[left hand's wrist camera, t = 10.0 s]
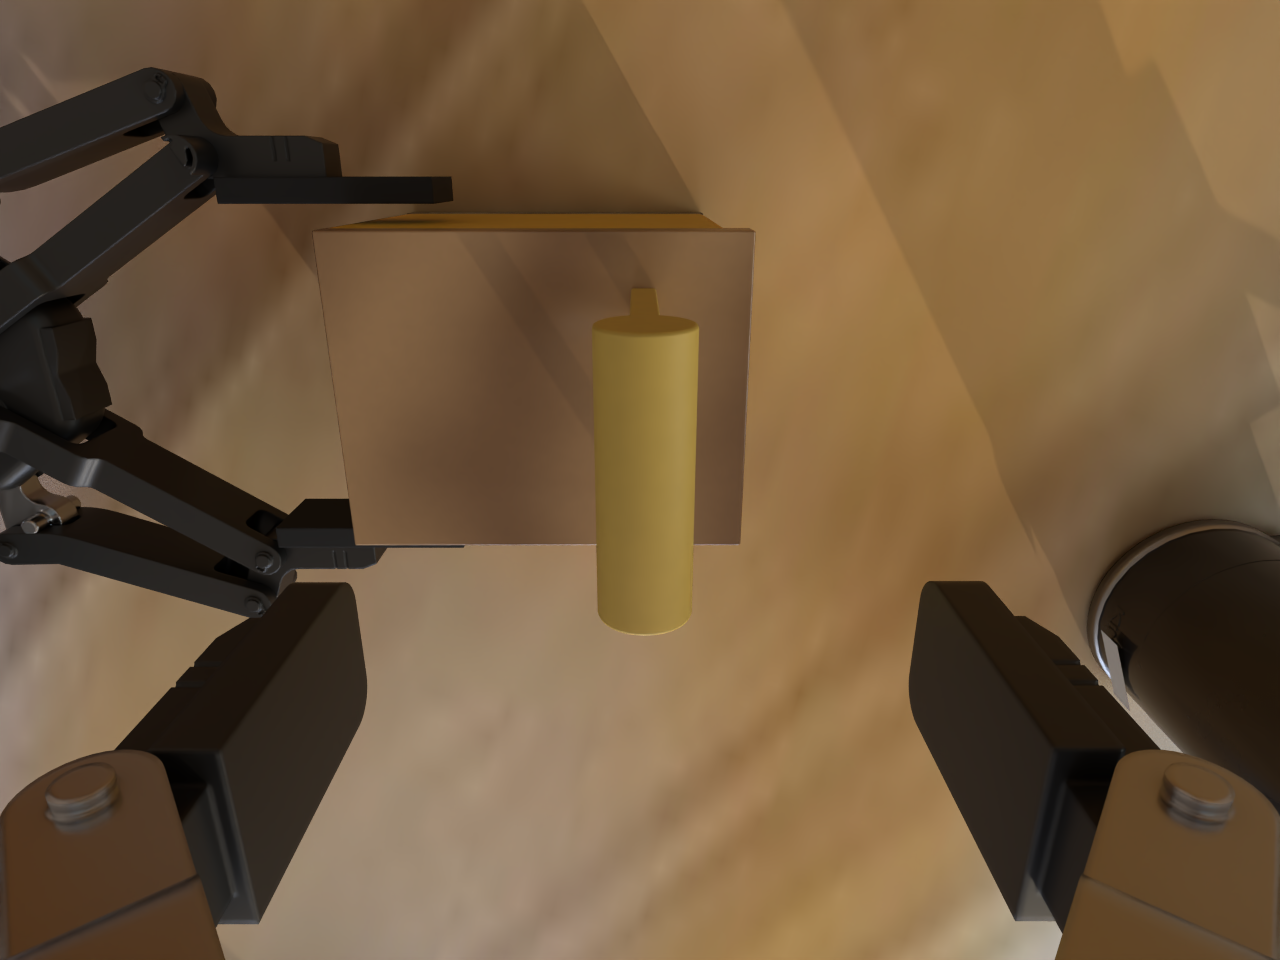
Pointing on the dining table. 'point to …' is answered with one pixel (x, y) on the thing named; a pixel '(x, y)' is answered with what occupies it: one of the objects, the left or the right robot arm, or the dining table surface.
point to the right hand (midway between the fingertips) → (458, 368)
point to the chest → (540, 220)
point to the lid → (546, 394)
